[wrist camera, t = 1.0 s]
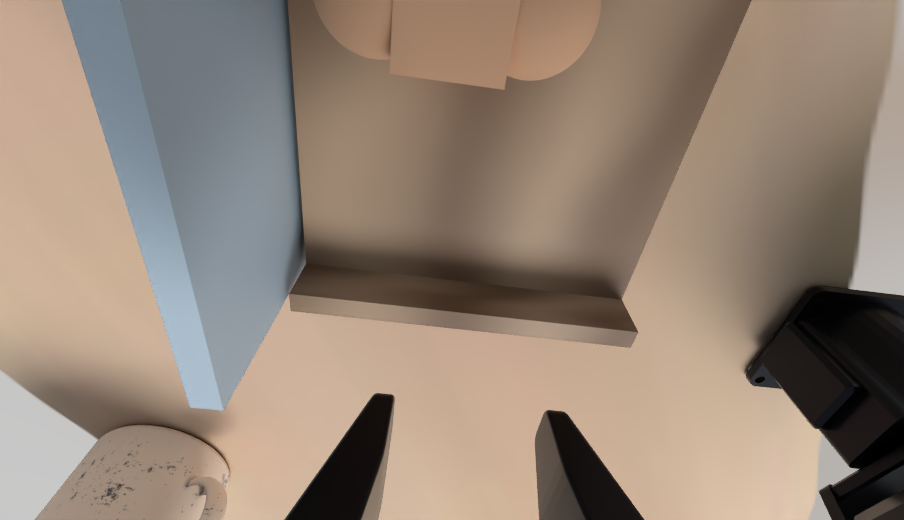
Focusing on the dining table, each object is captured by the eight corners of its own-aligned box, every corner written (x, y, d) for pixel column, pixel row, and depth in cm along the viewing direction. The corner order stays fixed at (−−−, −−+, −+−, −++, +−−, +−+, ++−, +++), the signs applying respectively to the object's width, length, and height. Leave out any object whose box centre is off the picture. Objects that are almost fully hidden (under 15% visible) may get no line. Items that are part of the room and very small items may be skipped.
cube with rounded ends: (599, -53, 11) (641, -65, 9) (565, 78, 13) (592, 102, 10) (327, -96, 11) (284, -123, 8) (330, 45, 13) (296, 60, 10)
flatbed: (768, -157, 12) (908, -223, 8) (590, 301, 21) (619, 371, 17) (259, -248, 11) (157, -366, 7) (300, 268, 20) (263, 333, 16)
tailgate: (275, -184, 11) (12, -424, 4) (306, 262, 18) (223, 410, 12) (230, -191, 11) (-97, -443, 4) (279, 259, 18) (182, 406, 12)
